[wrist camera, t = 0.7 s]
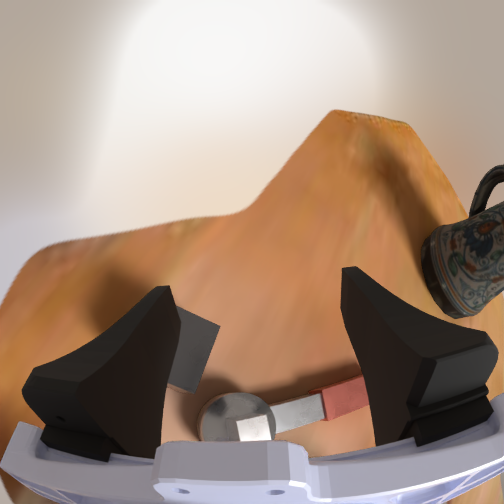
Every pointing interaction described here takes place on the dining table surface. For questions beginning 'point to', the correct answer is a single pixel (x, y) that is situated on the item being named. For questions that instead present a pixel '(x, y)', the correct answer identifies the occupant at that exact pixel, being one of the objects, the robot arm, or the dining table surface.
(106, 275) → the dining table surface
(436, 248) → the beer stein
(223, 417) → the ratchet
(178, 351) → the brushed steel cube
